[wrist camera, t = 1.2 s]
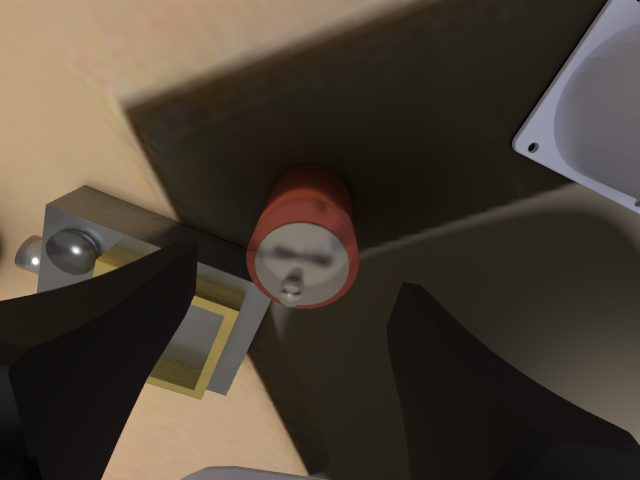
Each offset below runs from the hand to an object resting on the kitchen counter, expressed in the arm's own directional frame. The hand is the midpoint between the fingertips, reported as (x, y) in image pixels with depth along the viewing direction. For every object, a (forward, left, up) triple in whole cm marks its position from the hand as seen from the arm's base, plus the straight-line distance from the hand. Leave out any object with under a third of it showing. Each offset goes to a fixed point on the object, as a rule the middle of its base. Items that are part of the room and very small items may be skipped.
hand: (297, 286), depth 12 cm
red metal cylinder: (0, 0, -9) cm, 9 cm away
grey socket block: (+6, +9, -9) cm, 14 cm away
